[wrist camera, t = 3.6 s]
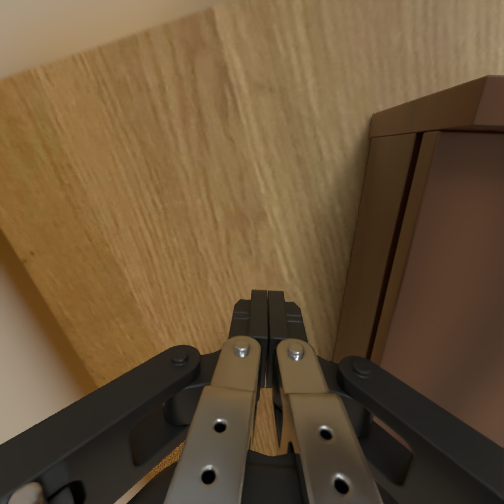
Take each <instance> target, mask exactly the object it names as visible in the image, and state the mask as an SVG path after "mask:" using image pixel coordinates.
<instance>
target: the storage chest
mask: <svg viewBox="0 0 504 504" xmlns="http://www.w3.org/2000/svg"><path fill="white" fill-rule="evenodd" d="M369 138H372V141H371V147H370V152H369V158H368V164H367V169H366V175H365V181H364V187H363V192H362V198H361V204H360V209H359V215H358V221H357V226H356V232H355V238H354V243H353V249H352V255H351V261H350V266H349V272H348V278H347V283H346V289H345V295H344V300H343V306H342V312H341V317H340V323H339V329H338V335H337V340H336V346H335V352H334V357H333V362H334V363H338V364H339V363H340V361H341V360H342V359H343V358H344V357H347V356H360V357H363V358H366V359H368V360H370V361H372V362H374V363H375V364H377V365H378V366H380V367H381V368H383V369H384V370H386V371H387V372H389V373H390V374H392V375H393V376H395V377H396V378H398V379H399V380H401V381H402V382H404V383H405V384H407V385H408V386H410V387H411V388H413V389H414V390H416V391H417V392H419V393H420V394H422V395H423V396H425V397H427V398H428V399H430V400H431V401H433V402H434V403H436V404H437V405H439V406H440V407H442V408H443V409H445V410H446V411H448V412H449V413H451V414H452V415H454V416H455V417H457V418H458V419H460V420H461V421H463V422H464V423H466V424H467V425H469V426H470V427H472V428H473V429H475V430H476V431H478V432H479V433H481V434H482V435H484V436H485V437H487V438H489V439H490V440H492V441H493V442H495V443H496V444H498V445H499V446H501V447H502V448H504V76H500V75H487V76H484V77H481V78H478V79H475V80H472V81H469V82H466V83H463V84H460V85H457V86H454V87H452V88H449V89H446V90H443V91H440V92H437V93H434V94H431V95H428V96H425V97H422V98H419V99H416V100H413V101H410V102H407V103H404V104H401V105H398V106H395V107H392V108H389V109H386V110H383V111H380V112H377V113H375V114H373V116H372V122H371V128H370V133H369ZM373 420H374V421H375V422H376V423H377V424H378V425H380V426H381V427H382V428H383V429H384V430H386V431H387V432H388V433H389V434H390V435H392V436H393V437H394V438H395V439H396V440H398V441H399V442H400V443H401V444H402V445H404V446H405V447H406V448H407V449H408V450H410V451H411V452H412V450H411V448H410V447H409V445H408V444H407V442H406V441H405V440H404V439H402V438H401V437H400V436H399V435H398V434H396V433H395V432H394V431H393V430H391V429H390V428H389V427H388V426H387V425H385V424H384V423H383V422H382V421H380V420H379V419H378V418H377V417H376V416H374V418H373ZM374 481H375V480H374Z"/></svg>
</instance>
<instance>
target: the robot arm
mask: <svg viewBox="0 0 504 504" xmlns="http://www.w3.org/2000/svg"><path fill="white" fill-rule="evenodd" d="M265 373H266V388H272V416H273V425H274V433H275V442H276V451H277V456H266V455H264V454H261V453H258V452H255V451H253V442H254V432H255V423H256V414H257V404H258V401H259V398H260V388H264V387H265ZM374 416H376V417H377V418H378V419H379V420H380V421H382V422H383V423H384V424H385V425H387V426H388V427H389V428H390V429H391V430H393V431H394V432H395V433H396V434H398V435H399V436H400V437H401V438H402V439H404V440H405V441H406V442H407V444H408V445H409V447H410V448H411V450H412V452H411V451H410V450H408V449H407V448H406V447H405V446H404V445H402V444H401V443H400V442H399V441H398V440H396V439H395V438H394V437H393V436H392V435H390V434H389V433H388V432H387V431H386V430H384V429H383V428H382V427H381V426H380V425H378V424H377V423H376V422H375V421H374V420H373V418H374ZM185 439H186V440H185ZM184 440H185V443H184V446H183V449H182V451H181V454H180V457H179V460H178V461H177V462H175V463H173V464H171V465H170V466H168V467H166V468H165V469H163V470H162V471H161V472H160V473H158V474H157V475H156V476H155V477H154V478H153V479H151V480H150V481H149V482H148V483H147V484H146V485H145V486H144V487H143V488H142V489H141V490H140V491H139V492H138V493H137V494H136V495H135V496H134V497H133V498H132V499H131V500H130V501H129V502H128V503H127V504H504V448H502V447H501V446H499V445H498V444H496V443H495V442H493V441H492V440H490V439H489V438H487V437H485V436H484V435H482V434H481V433H479V432H478V431H476V430H475V429H473V428H472V427H470V426H469V425H467V424H466V423H464V422H463V421H461V420H460V419H458V418H457V417H455V416H454V415H452V414H451V413H449V412H448V411H446V410H445V409H443V408H442V407H440V406H439V405H437V404H436V403H434V402H433V401H431V400H430V399H428V398H427V397H425V396H423V395H422V394H420V393H419V392H417V391H416V390H414V389H413V388H411V387H410V386H408V385H407V384H405V383H404V382H402V381H401V380H399V379H398V378H396V377H395V376H393V375H392V374H390V373H389V372H387V371H386V370H384V369H383V368H381V367H380V366H378V365H377V364H375V363H374V362H372V361H370V360H368V359H366V358H363V357H360V356H347V357H344V358H343V359H342V360H341V361H340V363H339V364H338V363H334V362H331V361H328V360H325V359H323V358H321V357H319V356H317V355H316V353H315V350H314V348H313V347H312V346H311V345H310V344H308V340H307V336H306V331H305V327H304V323H303V319H302V314H301V310H300V308H299V307H298V306H297V305H296V304H295V303H294V302H285V299H284V292H283V291H268V297H267V290H252V294H251V300H243V299H240V300H239V301H238V302H237V303H236V304H235V306H234V311H233V316H232V322H231V327H230V332H229V338H228V340H226V341H225V343H224V344H223V347H222V349H220V350H219V351H217V352H214V353H210V354H205V355H200V353H199V351H198V350H197V349H196V348H194V347H192V346H189V345H178V346H174V347H171V348H169V349H167V350H165V351H164V352H162V353H160V354H158V355H157V356H155V357H153V358H151V359H150V360H148V361H146V362H144V363H143V364H141V365H139V366H137V367H136V368H134V369H132V370H130V371H129V372H127V373H125V374H123V375H122V376H120V377H118V378H116V379H115V380H113V381H111V382H109V383H108V384H106V385H104V386H102V387H101V388H99V389H97V390H95V391H94V392H92V393H90V394H88V395H87V396H85V397H83V398H81V399H80V400H78V401H76V402H74V403H73V404H71V405H69V406H68V407H66V408H64V409H62V410H61V411H59V412H57V413H55V414H54V415H52V416H50V417H48V418H47V419H45V420H43V421H41V422H40V423H38V424H36V425H34V426H33V427H31V428H29V429H28V430H26V431H24V432H22V433H20V434H19V435H17V436H15V437H13V438H12V439H10V440H8V441H6V442H5V443H3V444H1V445H0V504H114V503H115V502H116V501H117V500H118V499H119V498H120V497H121V496H123V495H124V494H125V493H126V492H127V491H128V490H129V489H131V488H132V487H133V486H134V485H135V484H136V483H137V482H138V481H139V480H141V479H142V478H143V477H144V476H145V475H146V474H147V473H148V472H150V471H151V470H152V469H153V468H154V467H155V466H156V465H157V464H158V463H160V462H161V461H162V460H163V459H164V458H165V457H166V456H167V455H168V454H170V453H171V452H172V451H173V450H174V449H175V448H176V447H177V446H179V445H180V444H181V443H182V442H183V441H184ZM374 480H375V481H374Z"/></svg>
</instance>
